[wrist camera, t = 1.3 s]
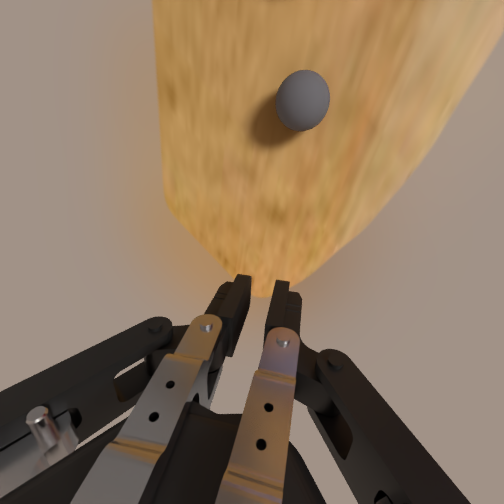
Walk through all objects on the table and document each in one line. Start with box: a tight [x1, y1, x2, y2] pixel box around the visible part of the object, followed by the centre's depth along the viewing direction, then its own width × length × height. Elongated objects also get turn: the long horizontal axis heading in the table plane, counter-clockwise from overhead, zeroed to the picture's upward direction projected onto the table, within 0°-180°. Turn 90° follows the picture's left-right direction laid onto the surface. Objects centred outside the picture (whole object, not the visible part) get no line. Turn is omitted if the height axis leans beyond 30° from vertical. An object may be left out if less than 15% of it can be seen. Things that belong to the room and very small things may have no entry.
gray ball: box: [276, 70, 330, 131], centre depth 28 cm, size 6×6×6 cm
